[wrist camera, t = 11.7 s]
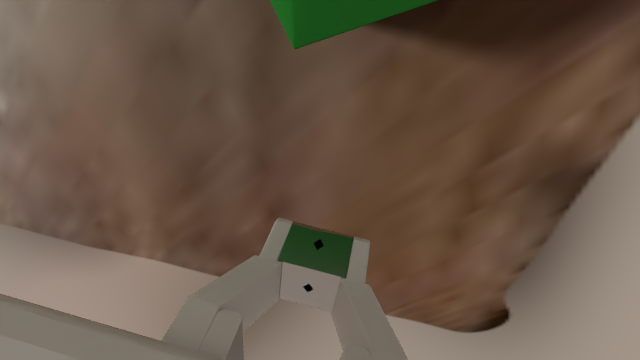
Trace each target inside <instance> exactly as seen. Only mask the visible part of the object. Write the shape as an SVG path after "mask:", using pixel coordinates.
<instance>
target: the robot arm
mask: <svg viewBox="0 0 640 360" xmlns="http://www.w3.org/2000/svg"><path fill="white" fill-rule="evenodd" d="M369 249H370V240H367V239H362V238H358V237H354V236H351V235H346V234H342V233H338V232H334V231H329V230H325V229H320V228H316V227H313V226H309V225H305V224H302V223H298V222H294V221H290V220H286V219H283V218H278V219H277V220H276V221H275V223H274V225H273V228H272V230H271V232H270V234H269V236H268V238H267V241H266V243H265V245H264V247H263V249H262V251H261V254H260V256H256V255H254V256H253V257H251V258H250V259H248V260H246V261H245V262H243V263H242V264H240V265H238V266H237V267H235V268H234V269H232V270H230V271H229V272H227V273H226V274H224V275H222V276H221V277H219V278H218V279H216V280H214V281H213V282H212V283H210V284H208V285H207V286H205V287H203V288H202V289H200V290H199V291H197V292H195V293H194V294H192V295H190V296H189V297H188V298H187V300H186V301H185V303H184V305H183V306H182V308H181V310H180V311H179V313H178V315H177V316H176V318H175V319H174V321H173V323H172V324H171V326H170V328H169V329H168V331H167V333H166V334H165V336H164V338H163V339H162V341H159V340H156V339H153V338H149V337H146V336H142V335H139V334H136V333H132V332H129V331H126V330H122V329H119V328H115V327H112V326H108V325H105V324H101V323H98V322H95V321H91V320H88V319H85V318H81V317H78V316H75V315H71V314H68V313H64V312H61V311H58V310H54V309H51V308H47V307H44V306H40V305H37V304H33V303H30V302H27V301H23V300H20V299H17V298H13V297H10V296H6V295H3V294H0V360H244V349H243V348H244V347H243V331H244V330H245V329H247V328H248V327H249V326H250V325H251V324H252V323H253V322H254V321H256V320H257V319H258V318H259V317H260V316H261V315H262V314H264V312H266V311H267V310H268V309H269V308H270V307H271V306H272V305H274V304H275V303H276V302H277V301H278V300H279V298H280V299H284V300H289V301H292V302H296V303H301V304H305V305H308V306H311V307H315V308H318V309H321V310H325V311H328V312H331V315H332V317H333V321H334V324H335V327H336V330H337V333H338V336H339V340H340V343H341V346H342V349H343V353H342V356H341V358H340V360H408V359H407V357H406V355H405V353H404V351H403V349H402V347H401V345H400V343H399V341H398V339H397V337H396V335H395V333H394V331H393V329H392V328H391V326H390V324H389V322H388V320H387V318H386V316H385V314H384V312H383V310H382V308H381V306H380V304H379V302H378V300H377V298H376V296H375V295H374V293H373V291H372V289H371V287H370V285H367V284H365V280H366V272H367V264H368V257H369Z"/></svg>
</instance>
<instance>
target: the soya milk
mask: <svg viewBox="0 0 640 360" xmlns="http://www.w3.org/2000/svg"><path fill="white" fill-rule="evenodd" d="M435 1H438V0H270V2H271V4H272V6H273V8H274V10H275V12H276V14H277V16H278V18H279V20H280V22H281V24H282V26H283V28H284V30H285V32H286V34H287V36H288V38H289V40H290V42H291V44H292V47H293V48H294V49H297V48H300V47H303V46H306V45H309V44H312V43H315V42H318V41H321V40H324V39H327V38H330V37H333V36H335V35H338V34H341V33H344V32H347V31H350V30H353V29H356V28H359V27H362V26H365V25H368V24H371V23H374V22H376V21H379V20H382V19H385V18H388V17H391V16H394V15H397V14H400V13H403V12H406V11H409V10H412V9H414V8H417V7H420V6H423V5H426V4H429V3H432V2H435Z"/></svg>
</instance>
